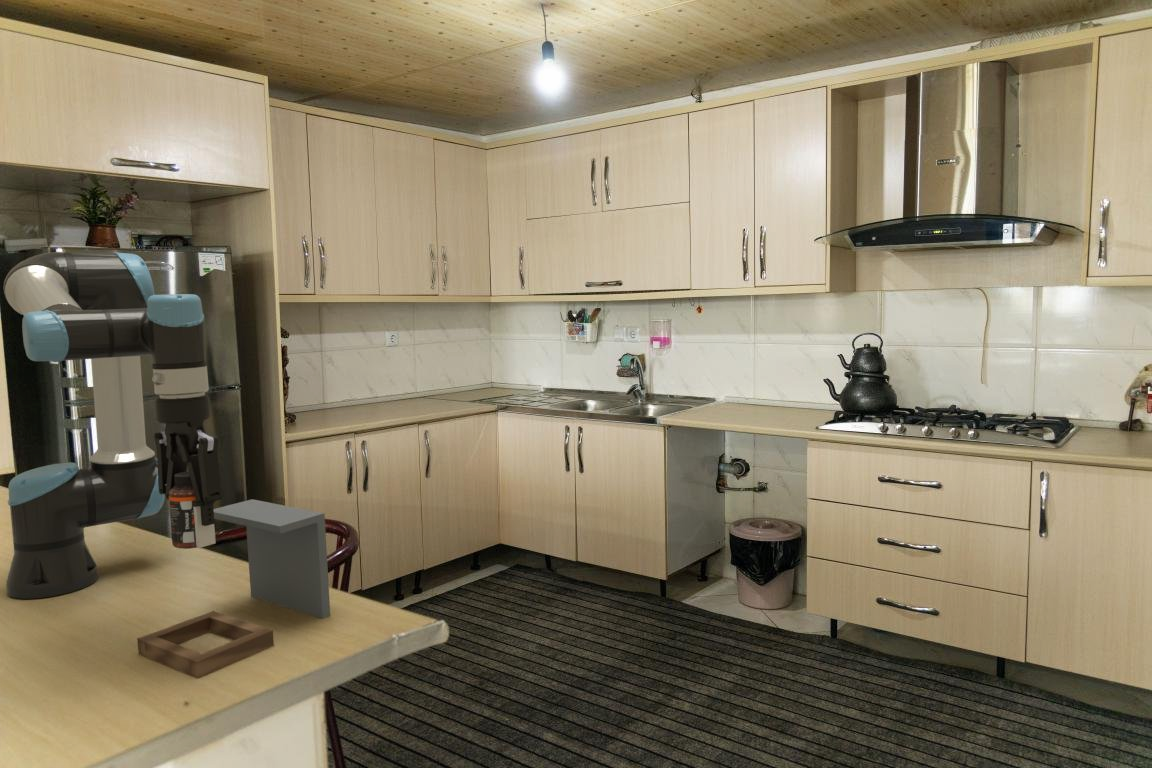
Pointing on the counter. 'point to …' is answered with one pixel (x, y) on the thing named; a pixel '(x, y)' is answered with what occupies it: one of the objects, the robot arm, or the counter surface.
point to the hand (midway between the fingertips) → (193, 541)
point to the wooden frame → (196, 664)
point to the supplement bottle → (182, 512)
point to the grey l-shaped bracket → (284, 554)
